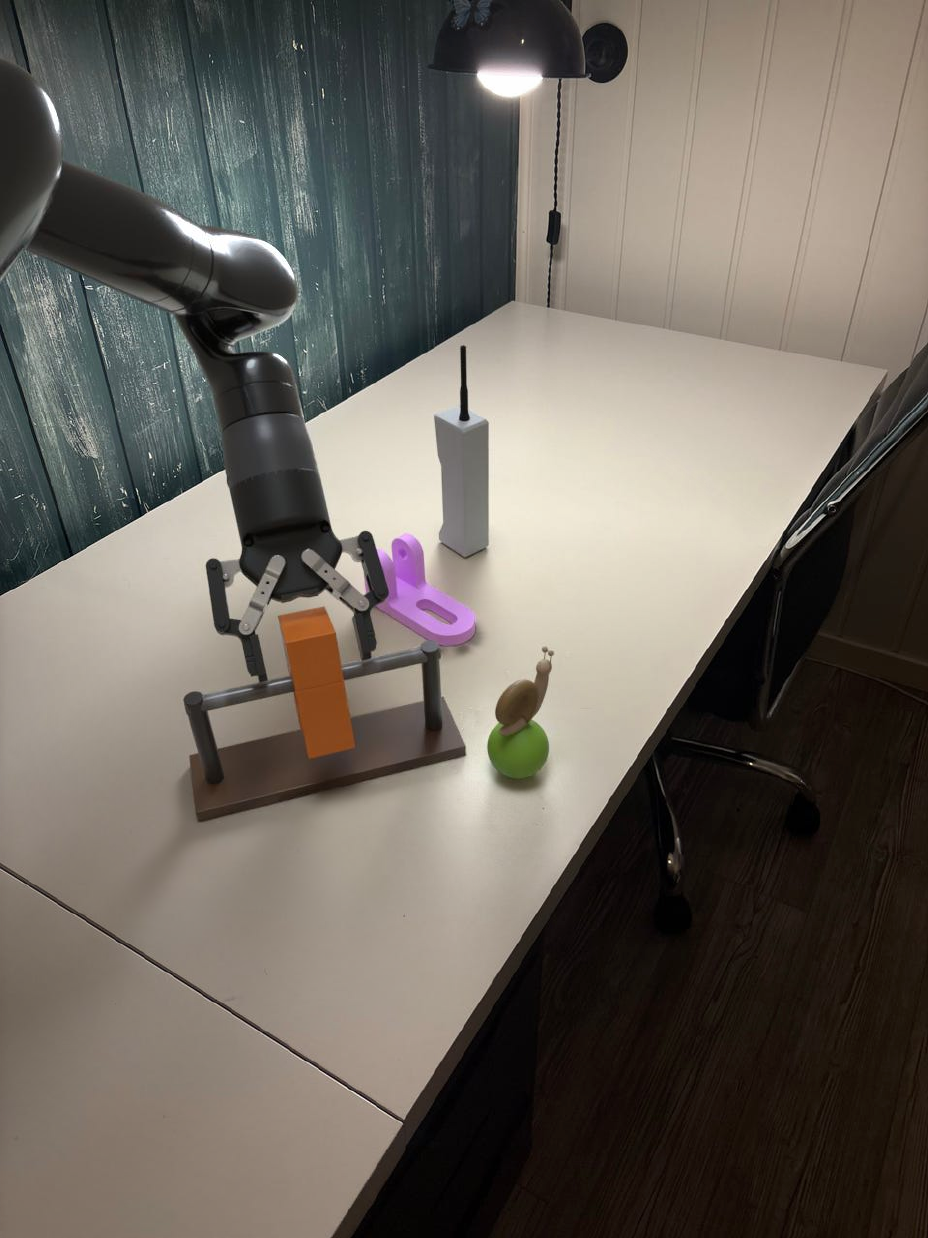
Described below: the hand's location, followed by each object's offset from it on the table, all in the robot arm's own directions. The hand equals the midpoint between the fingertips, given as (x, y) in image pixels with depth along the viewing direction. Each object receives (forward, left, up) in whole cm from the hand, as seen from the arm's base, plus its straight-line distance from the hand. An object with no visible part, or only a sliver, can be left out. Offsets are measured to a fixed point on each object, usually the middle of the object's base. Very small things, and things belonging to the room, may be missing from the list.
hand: (316, 669), depth 75 cm
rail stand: (0, +1, -12) cm, 12 cm away
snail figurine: (+15, -8, -12) cm, 21 cm away
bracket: (+17, +16, -12) cm, 27 cm away
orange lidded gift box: (0, 0, -8) cm, 8 cm away
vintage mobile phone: (+27, +26, -12) cm, 40 cm away
